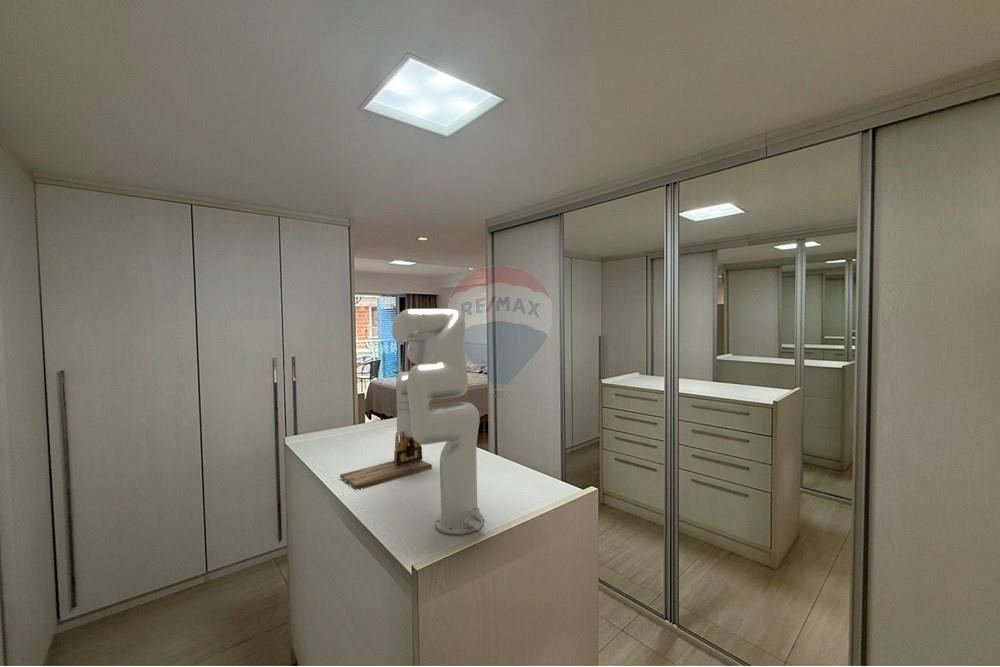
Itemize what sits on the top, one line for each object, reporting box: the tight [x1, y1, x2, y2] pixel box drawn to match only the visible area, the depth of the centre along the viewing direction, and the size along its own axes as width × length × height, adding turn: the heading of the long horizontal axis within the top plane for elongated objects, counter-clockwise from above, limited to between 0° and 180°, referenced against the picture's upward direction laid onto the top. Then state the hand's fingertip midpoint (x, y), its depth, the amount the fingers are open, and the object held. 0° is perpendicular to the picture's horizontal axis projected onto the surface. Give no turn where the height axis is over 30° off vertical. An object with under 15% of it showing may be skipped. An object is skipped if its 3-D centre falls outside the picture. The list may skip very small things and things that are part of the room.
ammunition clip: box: [393, 431, 423, 466], centre depth 150 cm, size 11×2×12 cm, turn 132°
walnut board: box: [339, 459, 433, 490], centre depth 145 cm, size 14×28×2 cm, turn 132°
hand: (408, 455), depth 150 cm, fingers closed on ammunition clip, 2 cm apart
